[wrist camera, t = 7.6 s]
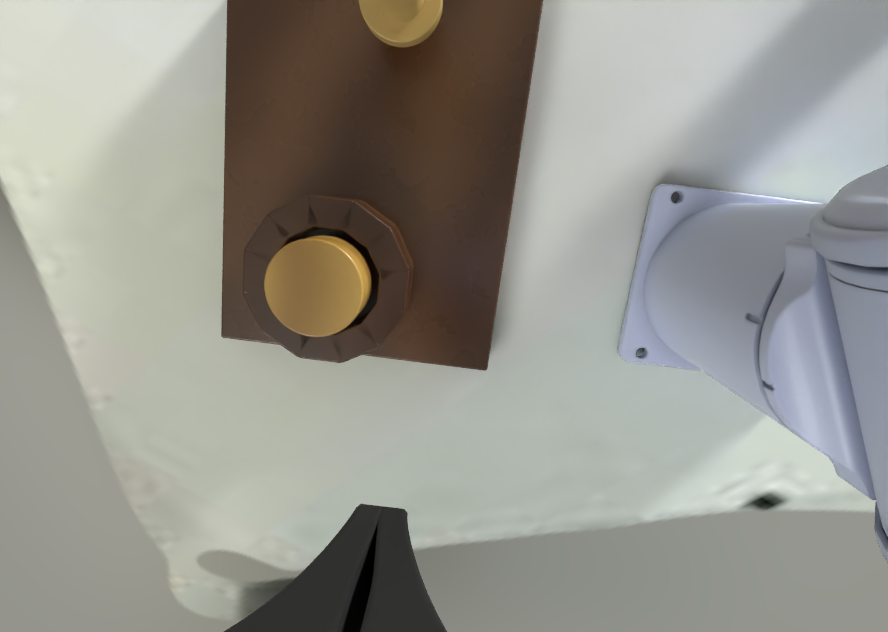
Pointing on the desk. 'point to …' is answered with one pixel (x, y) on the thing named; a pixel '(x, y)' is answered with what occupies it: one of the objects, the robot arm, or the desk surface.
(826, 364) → the robot arm
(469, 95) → the lamp base
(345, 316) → the lamp switch
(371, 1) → the lamp
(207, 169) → the desk surface
